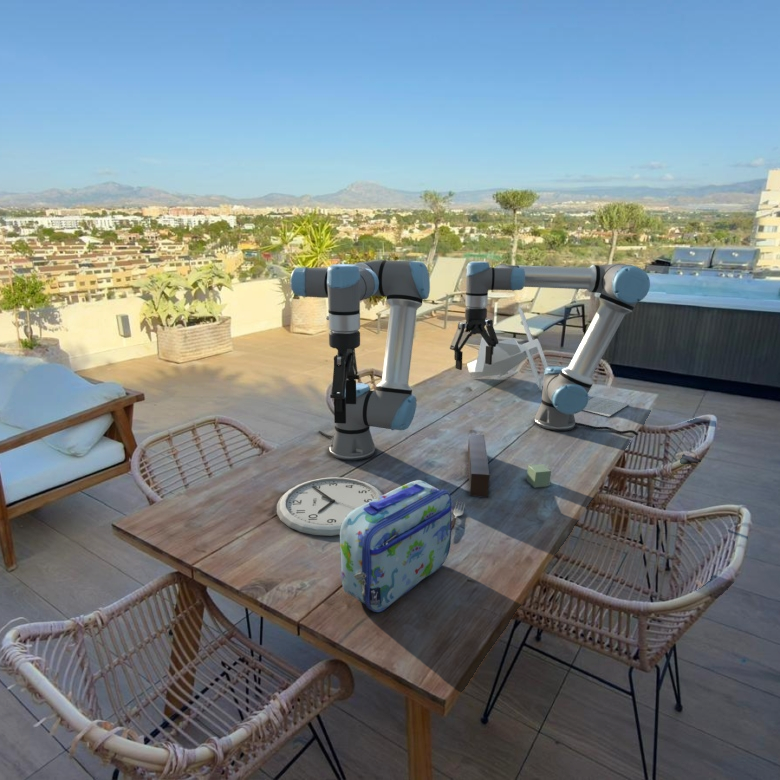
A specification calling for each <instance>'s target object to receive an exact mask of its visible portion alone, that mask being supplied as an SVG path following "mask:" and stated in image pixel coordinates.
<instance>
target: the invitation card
mask: <svg viewBox="0 0 780 780" xmlns="http://www.w3.org/2000/svg"><path fill="white" fill-rule="evenodd" d="M628 406H629V404H627V403H623V402H618V401H614V400H609V399H605V398H601V397H596V396H593V397H592V398H590V399H588V403H587V405H586V407H585V408H584V409H583V410H582V411H584V412H587V413H593V414H596V415H600V416H604V417H608V418H609V417H611V416H613V415H614V414H616V413H617V412H619V411H621V410H623V409H624V408H626V407H628Z"/></svg>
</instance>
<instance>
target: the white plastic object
mask: <svg viewBox="0 0 780 780" xmlns="http://www.w3.org/2000/svg"><path fill="white" fill-rule="evenodd" d="M517 310H518V314H519V316H520V319H521V322H522V325H523V328H524V331H525V334H526V338H527V342H524V343H522V344H521V343H519V342H518V341H517V338H516V337H512V338H507V339H503V340H498V342H499V343H498V344H496V347H494V349H493V355H492V365H489V364H486V363H485V354H486V346H489V345H488V344H487V343H486V341H485V340H484V338H483V337H482V336H481V339H480V344H479V349H478V353H477V356H476V357H477V358H476V359H475V360H473V361H471V362H468V363H467V364H466V366H467V369H468V373H469V375H470V376H471V377H472V379H476V378H485V377H492V376H493V377H494V376H498V377H502V376H506V375H508V374H509V371H511V370H513V368H515V367H516V366H518V365H519V364H521V363H522V362H524V361H525V360H527V359H528V363H529V366H530V368H531V372H532V375H533V378H534V381H535V384H536V386H537V387H538V388H539V390H540V391H542V392H543V384H542V382H541V379H540V376H539V372H538V370H537V366H536V364H535V361H534V358H533V355H535V354H537V353H538V354H539V357H540V360H541V363H542V367H543V369H544V370H545V369H546V368H547V367H549V365H548V361H547V359H546V356H545V352H544V350H543V348H542V345H541V342H540V339H538V338H534V339H533V336H532V334H531V330H530V327H529V325H528V324H529V323H528V321H527V318H526V316H525V312H524V311H523V309H522V307H521V306H520V307H518V308H517ZM488 335H489V334H488Z"/></svg>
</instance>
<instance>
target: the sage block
mask: <svg viewBox="0 0 780 780" xmlns="http://www.w3.org/2000/svg"><path fill="white" fill-rule="evenodd" d="M551 474H552V470H551V469H550V468H548V467H547V466H546V465H545V464H544V463H538V464H528V465H527V471H526V481H527V482H528V483H529V485H531V487H532V488H535V489H536V488H543V487H545V488H546V487H550V484H551V476H552V475H551Z"/></svg>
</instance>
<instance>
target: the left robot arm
mask: <svg viewBox="0 0 780 780" xmlns="http://www.w3.org/2000/svg"><path fill="white" fill-rule="evenodd" d="M289 279H290V288H291V291H292V293H293V294H294V295H295V296H298V297H304V298H323V299H327V306H328V308H327V309H328V310H327V311H328V315H327V316H326V317H325V318H326V321H328V329H329V330H330V331H329V332H328V345H329V347H330V348H332V349H336V350H337V354H336V355H334V356H333V373H332V385H331V386H332V387H331V394H329V397H330V399H333V419H334V422H333V423H334V432H333V434H332V435H331V434H327V433H324V432H322V431H321V430H318V433H319V434H320V435H322V436H324V437H327V438H330V444H329V454H330V455H331V457H333V458H335V459H338V460H341V461H351V462H353V461H362V460H365V459H368V458H370V457H372V456H374V454H375V452H376V447H375V443H374V439H373V436H372V433H371V429H370V427H372V428H373V427H374V428H380V429H387V430H391V431H406V430H407V429H409V427H410V425H411V424H412V422H413V420H414V417H415V414H416V410H417V402H418V400H417V396H416V395H414V394H413V388H412V387H411V386H410V384H409V381H410V380H409V379H410V370H411V363H412V354H413V346H414V337H415V328H416V319H417V311H418V310H419V308H421V307H422V306H423V300H424V301H425V300H427V299H428V298H429V297H430V291H431V281H430V274H429V270H428V266H427V265H426V264H425V263H424V262H423V261H416V260H393V259H391V260H389V259H387V260H386V259H376V260H369V261H362V262H355V263H352V264H350V263H337V264H330V265H329V266H322V267H321V266H320V267H310V266H309V267H308V266H299V267H295V268H294V269H293V270H292V272H291V274H290V278H289ZM373 296H375V297H376V296H377V297H386V298H385V302H386V303H387V304H388V306H389V315H388V322H387V323H388V324H387V332H386V342H385V348H384V349H385V350H384V358H383V366H382V376H381V380H380V381H379V383H377V384H376V385H375V386H376V388H375V390H371V386H370V384H368V383H366V382H365V383H364V382H357V380H359V379H360V375H359V374H358V373H359V372H358V366H357V358H356V356H357V355H356V349H357V348H359V347H360V346H361V332H360V331H359V330H360V329H361V302H362V301H364V300H367V299H370V298H371V297H373Z"/></svg>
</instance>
